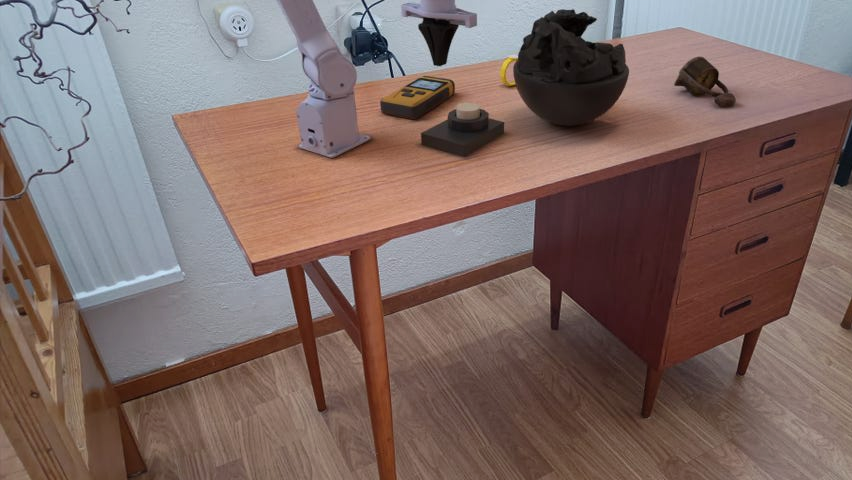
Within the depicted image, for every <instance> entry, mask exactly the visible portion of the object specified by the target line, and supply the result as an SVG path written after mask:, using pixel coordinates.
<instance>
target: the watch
mask: <svg viewBox="0 0 852 480" xmlns="http://www.w3.org/2000/svg"><path fill="white" fill-rule="evenodd" d="M517 60H518V54H508V55H507V58H506V59H505V60H504V62H503V64H502V65H501V67H500V73H499V75H500V81H501V83H503V85H505V86H506V87H513V86H516V84H515V81H513V82H508V80H507V77H506V75H507V69H508V68H509V65H510V64H511V63H512V62H516V61H517Z"/></svg>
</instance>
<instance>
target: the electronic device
mask: <svg viewBox="0 0 852 480" xmlns="http://www.w3.org/2000/svg"><path fill="white" fill-rule="evenodd" d="M455 92H456V84H455V82H454V80H452V79H450V78H443V77H436V76H430V75H422V76H420V77H418V78H417V79H415V80H413V81H411V82H410V83H408V84H406V85H404V86H403V87H401V88H399V89H397V90H395V91H394V92H392V93H390V94H388V95H386V96H385V97H383V98H381V99H380V100H379V101H380V102H379V105H380V111H381V114H384V115H390V116H395V117H400V118H406V119H411V120H416V119H418V118H419V117H421V116H423V115H424V114H426V113H427V112H429V111H431V110H432V109H434V108H435V107H438V105H440V104H441V103H443V102H444V101H446V100H448V99H449V98H450V97H452V96H453V95H454V94H456V93H455Z"/></svg>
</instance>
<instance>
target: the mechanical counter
mask: <svg viewBox="0 0 852 480" xmlns="http://www.w3.org/2000/svg"><path fill="white" fill-rule="evenodd" d="M719 77H720V72H719V69H718V68H716V67H715V66H714V65H713V64H712V63H710V62H709V61H708V60H707V59H706V58H705V57H704V56H696V57H693V58H691V59H689V60H688V61H687V62H686V63H685V64H683V66H682V67H681V68H680V70H679V71H678V76H677V78H676V79H675V81H674V84H673V86H675V87H684V88H685V89H686V90H687V91H688V92H689V93H690V94H691V95H692V96H695V97H698V96H703V95H707V96H710V97H713V98H714V99H713V100H714V103H715V104H716V105H717V106H718V107H720V108H726V107H731V106H733V105H734V104H735V103H736V101H737V97H736V96H735V95H734V94H733V93H731V92H729V89H728V87H727V85H725V84H724V83H723V82H722V81H721V80H719ZM715 86H717V87H718V88H719V89H721V90H722V92H717V91H714V90H712V89H714V87H715Z"/></svg>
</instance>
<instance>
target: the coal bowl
mask: <svg viewBox="0 0 852 480" xmlns="http://www.w3.org/2000/svg"><path fill="white" fill-rule="evenodd" d="M597 21H598V18H597V17H594V16H592V15H589V14H588V13H587V12H585V11H582V12H581V11H580V12H579V13H576V10H575V9H574V8H572V9H563V8H561V9H557V11H556V12H554V10H551V11H550V12H548V13H545V14H544V16H541V17H540V18H537V19H536V20H535V21H533V25H532V28H531V33H529V34H527V35H525V36H524V37H523V39H522V42H523V43H522V45H521V46H520V48H519V51H518V54H517V55H518V60H517V61H514V64H513V67H512V73H513V79H514V82H515V84H516V85H515V87H516V90H517V93H518V94H519V96H520V98H521V100H522V101H523V103H524V104H525V105H526V107H527V108H528V109H529V110H530V111H531V112H532V113H533V114H534V115H536V116H537V117H539V118H540V119H542V120H544V121H546V122H548V123H551V124H554V125H559V126H567V127H568V126H569V127H571V126H573V127H574V126H579V125H580V126H581V125H584V124H588V123H590V122H593V121H594V120H597V119H599V118H600V117H602V116H603V115H605V114H606V113H607V112H609V111H610V110H611V109H612V107H614V105H616V103H617V101H619V99H620V97H621V96H622V94H623V92H624V91H625V87H626V85H627V83H628V80H629V75H630V67H629V66H628V65H627V64H626V62H627V59H626V58H627V57H626V50H625V47H624V44H623V43H618V44H617V45H615V46H614V45H613V44H612V43H609V42H592V41H588V40H585V39H584V38H583V37H582V36H583V34H584V33H585V32H586V30H587V29H588V27H589V26H591V25H593V24H594V23H595V22H597Z"/></svg>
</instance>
